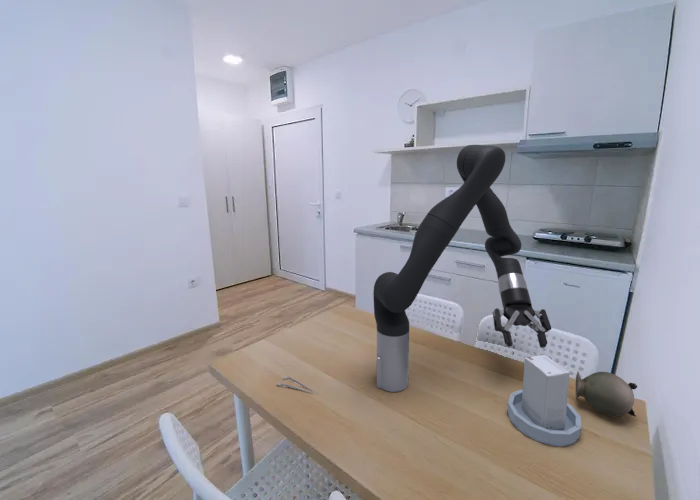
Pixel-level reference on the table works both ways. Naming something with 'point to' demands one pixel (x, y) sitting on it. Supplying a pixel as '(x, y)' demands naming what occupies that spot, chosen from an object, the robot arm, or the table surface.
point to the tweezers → (293, 386)
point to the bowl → (539, 433)
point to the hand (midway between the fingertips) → (526, 346)
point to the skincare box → (545, 392)
